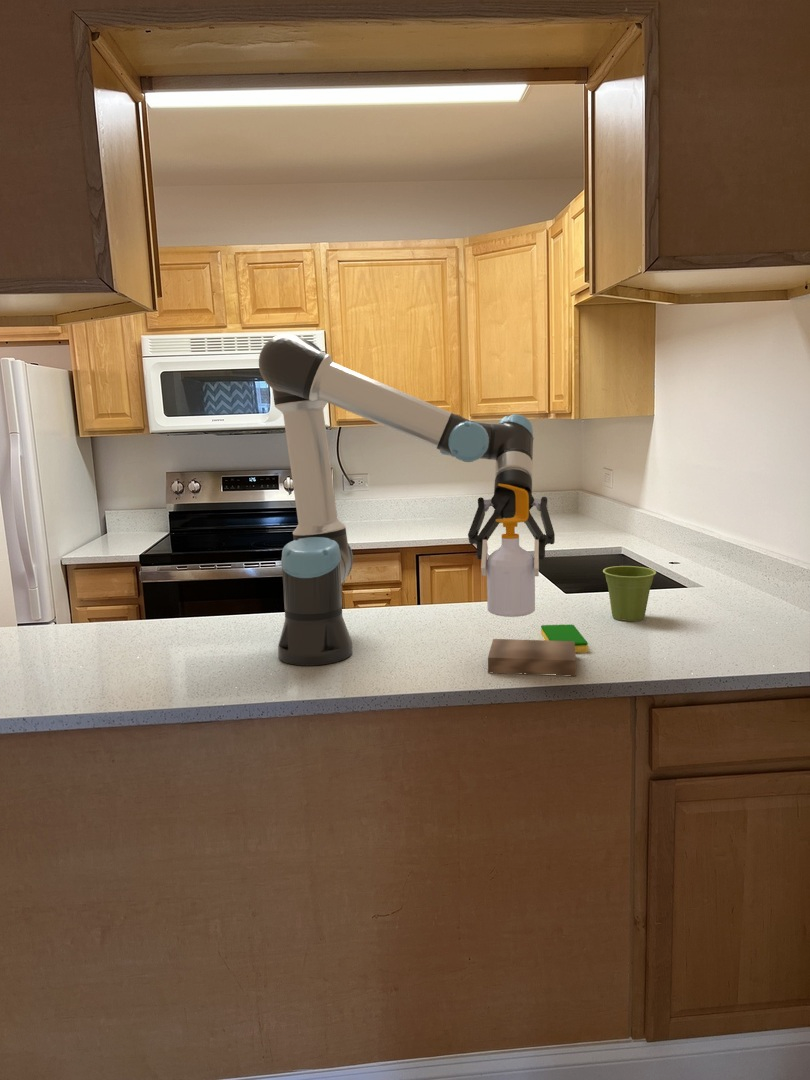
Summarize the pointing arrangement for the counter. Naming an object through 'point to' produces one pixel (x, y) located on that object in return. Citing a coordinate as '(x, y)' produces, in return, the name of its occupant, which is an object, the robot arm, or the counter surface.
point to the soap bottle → (511, 567)
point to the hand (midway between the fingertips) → (509, 572)
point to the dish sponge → (565, 635)
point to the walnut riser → (532, 657)
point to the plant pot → (629, 591)
